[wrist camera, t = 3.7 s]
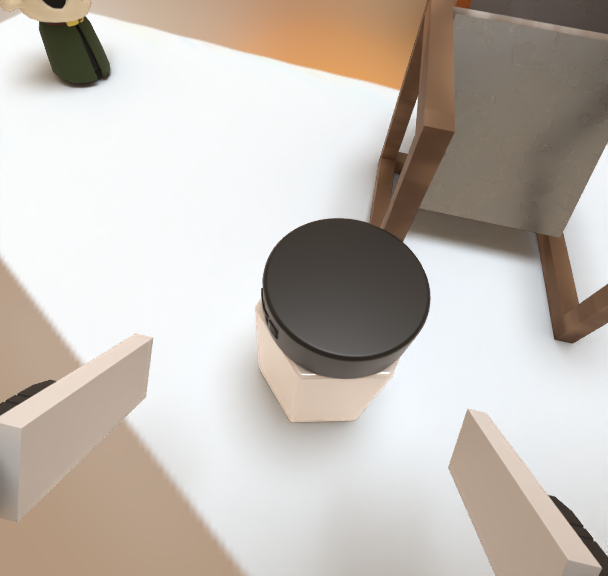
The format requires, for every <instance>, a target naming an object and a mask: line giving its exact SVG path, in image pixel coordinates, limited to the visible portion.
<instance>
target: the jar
mask: <svg viewBox="0 0 608 576" xmlns="http://www.w3.org/2000/svg"><path fill="white" fill-rule="evenodd" d="M429 308H430V288H429V283H428V279H427V276H426V274H425V271H424V269H423V267H422V265H421V263H420V262H419V260H418V259H417V257H416V256H415V255H414V253H413V252H412V251H411V250H410V249H409V248H408V247H407V246H406V245H405V244H404V243H403V242H402V241H401V240H399V239H398V238H397V237H395V236H394V235H392V234H391V233H389V232H387V231H386V230H384V229H382V228H380V227H377V226H375V225H372V224H369V223H366V222H363V221H358V220H353V219H343V218H333V219H323V220H318V221H314V222H311V223H307V224H305V225H303V226H300V227H298V228H296V229H295V230H293V231H291V232H290V233H288V234H287V235H286V236H285V237H283V238H282V239H281V240H280V241H279V242H278V244H277V245H276V246H275V247H274V249H273V250H272V252H271V253H270V255H269V257H268V260H267V262H266V265H265V269H264V274H263V288H261V299H260V300H259V302H258V303H257V305H256V307H255V314H256V328H257V343H258V358H259V369H260V371H261V373H262V374H263V376H264V378H265V379H266V381H267V383H268V384H269V386H270V388H271V390H272V391H273V393H274V395H275V396H276V398H277V400H278V401H279V403H280V405H281V407H282V408H283V410H284V412H285V413H286V415H287V417H288V419H289V420H290V421H291V422H322V421H355V420H356V419H357V418H358V417H359V416H360V415H361V413H362V412H363V411H364V410H365V409H366V407H367V406H368V405H369V404H370V403H371V401H372V400H373V399H374V398H375V397H376V395H377V394H378V393H379V392H380V391H381V389H382V388H383V387H384V386H385V385H386V383H387V382H388V381H389V380H390V379H391V377H392V376H393V374H394V371H395V369H396V366H397V364H398V361H399V359H400V356H401V355H402V354H403V353H404V351H405V350H406V349H407V348H408V346H409V345H410V344H411V343H412V341H413V340H414V339H415V337H416V336H417V335H418V334H419V332H420V331H421V329H422V328H423V326H424V324H425V321H426V319H427V316H428V313H429Z"/></svg>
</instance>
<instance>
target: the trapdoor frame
mask: <svg viewBox="0 0 608 576" xmlns="http://www.w3.org/2000/svg"><path fill="white" fill-rule="evenodd" d="M455 14H461V15H466V16H472V17H477V18H483V19H488V20H494V21H499V22H505V23H510V24H516V25H521V26H527V27H532V28H538V29H543V30H548V31H554V32H559V33H565V34H570V35H576V36H581V37H587V38H592V39H598V40H603V41H608V34H603V33H598V32H592V31H587V30H581V29H576V28H570V27H565V26H559V25H554V24H548V23H543V22H537V21H532V20H526V19H521V18H515V17H510V16H504V15H499V14H493V13H488V12H482V11H477V10H471V9H466V8H460V7H455V6H453V0H427V4H426V7H425V10H424V13H423V17H422V20H421V23H420V27H419V30H418V33H417V37H416V40H415V43H414V47H413V50H412V53H411V56H410V60H409V63H408V67H407V70H406V73H405V77H404V80H403V83H402V86H401V90H400V93H399V96H398V100H397V103H396V106H395V110H394V113H393V116H392V119H391V123H390V126H389V129H388V133H387V136H386V139H385V143H384V146H383V149H382V153H381V156H380V159H379V165H378V171H377V178H376V184H375V190H374V197H373V203H372V210H371V216H370V222H369V224H372V225H375V226H377V227H380V228H382V229H384V230H386V231H387V232H389V233H391V234H392V235H394V236H395V237H397V238H398V239H399V240H401V241H402V242H403V241H404V238H405V236H406V234H407V232H408V230H409V228H410V226H411V224H412V222H413V219H414V217H415V215H416V213H417V211H418V209H419V207H420V205H421V203H422V200H423V198H424V196H425V194H426V192H427V190H428V188H429V186H430V183H431V181H432V179H433V177H434V175H435V173H436V171H437V169H438V167H439V164H440V162H441V160H442V158H443V156H444V154H445V152H446V150H447V148H448V145H449V143H450V141H451V139H452V137H453V135H454V133H455V105H454V41H453V20H454V17H455ZM417 97H418V107H417V120H416V132H415V137H414V139H413V142H412V145H411V147H410V150H409V153H408V154H406V153H401V152H399V149H400V146H401V143H402V140H403V137H404V134H405V132H406V129H407V126H408V123H409V120H410V117H411V114H412V111H413V108H414V106H415V103H416V100H417ZM394 173H399V174H400V177H399V179H398V182H397V185H396V187H395V190H394V193H393V195H392V198H391V194H392V185H393V177H394ZM537 239H538V245H539V250H540V256H541V262H542V268H543V274H544V280H545V286H546V291H547V297H548V303H549V309H550V315H551V321H552V327H553V333H554V338H555V339H556V340H560V341H565V342H569V343H574V342H576V341H578V340H580V339H581V338H583V337H585V336H586V335H588V334H590V333H591V332H593V331H595V330H596V329H598V328H600V327H601V326H603V325H605V324H607V323H608V284H607V285H606V286H604V287H603V288H601V289H600V290H599V291H597V292H596V293H594V294H593V295H591V296H590V297H589V298H587V299H586V300H584V301H583V302H582V303H580V304H579V302H578V297H577V293H576V288H575V284H574V279H573V275H572V270H571V266H570V261H569V257H568V252H567V248H566V243H565V239H564V234H563V233H562V235H561V237H560V238H559V237H554V236H549V235H545V234H540V233H537Z"/></svg>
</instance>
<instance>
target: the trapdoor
mask: <svg viewBox="0 0 608 576" xmlns="http://www.w3.org/2000/svg"><path fill="white" fill-rule="evenodd" d="M455 7H460V8H466V9H471V10H477V11H482V12H488V13H493V14H499V15H504V16H510V17H515V18H521V19H526V20H532V21H537V22H543V23H548V24H554V25H559V26H565V27H570V28H576V29H581V30H587V31H592V32H598V33H603V34H608V0H457V2H456V5H455ZM453 41H454V105H455V133H454V135H453V137H452V139H451V141H450V143H449V145H448V148H447V150H446V152H445V154H444V156H443V158H442V160H441V162H440V164H439V167H438V169H437V171H436V173H435V175H434V177H433V179H432V181H431V183H430V186H429V188H428V190H427V192H426V194H425V196H424V198H423V200H422V203H421V205H420V207H419V208H420V209H425V210H429V211H434V212H439V213H444V214H449V215H453V216H458V217H463V218H468V219H473V220H477V221H482V222H487V223H492V224H497V225H501V226H506V227H511V228H516V229H521V230H525V231H530V232H535V233H540V234H545V235H549V236H554V237H559V238H560V237H561V235H562V233H563V231H564V229H565V227H566V225H567V223H568V221H569V219H570V217H571V215H572V213H573V211H574V209H575V207H576V205H577V203H578V201H579V199H580V197H581V194H582V192H583V190H584V188H585V186H586V184H587V182H588V180H589V178H590V176H591V174H592V172H593V170H594V168H595V166H596V164H597V162H598V160H599V158H600V156H601V154H602V152H603V150H604V148H605V146H606V144H607V142H608V41H603V40H598V39H592V38H587V37H581V36H576V35H570V34H565V33H559V32H554V31H548V30H543V29H538V28H532V27H527V26H521V25H516V24H510V23H505V22H499V21H494V20H488V19H483V18H477V17H472V16H466V15H461V14H455V17H454V20H453Z"/></svg>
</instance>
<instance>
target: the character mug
mask: <svg viewBox="0 0 608 576" xmlns="http://www.w3.org/2000/svg"><path fill="white" fill-rule="evenodd" d="M0 6H1V7H2V8H3V10H4V11H8V12H11V11H14V10H16V9H20V10H21V11H22V12H23V14H25V15H26V16H28V17H29V18H31V19H34V20H38V21H39V31H40V34H41V37H42V40H43V43H44V46H45V49H46V53H47V56H48V58H49V61H50V64H51V66H52V69H53V72H54V73H55V74H56V75H57V76H58V77H60V78H62V79H64V80H66V81H68V82H71V83H87V82H92V81H96V80H97V79H98V78H97V76H96V73H95V71H96V70H97V69H98V68H99V67H100V69H101V71H102V73H103V76H105V75H107V73H108V72H109V71H110V64H109V61H108V59H107V56H106V54H105V52H104V50H103V47H102V45H101V43H100V41H99V39H98V37H97V35H96V33H95V31H94V29H93V27H92V25H91V23H90V21H89V20H88V19H87V18H86V17H85V16H86V15H87V14H88V12H89V10H90V7H91V0H0Z"/></svg>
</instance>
